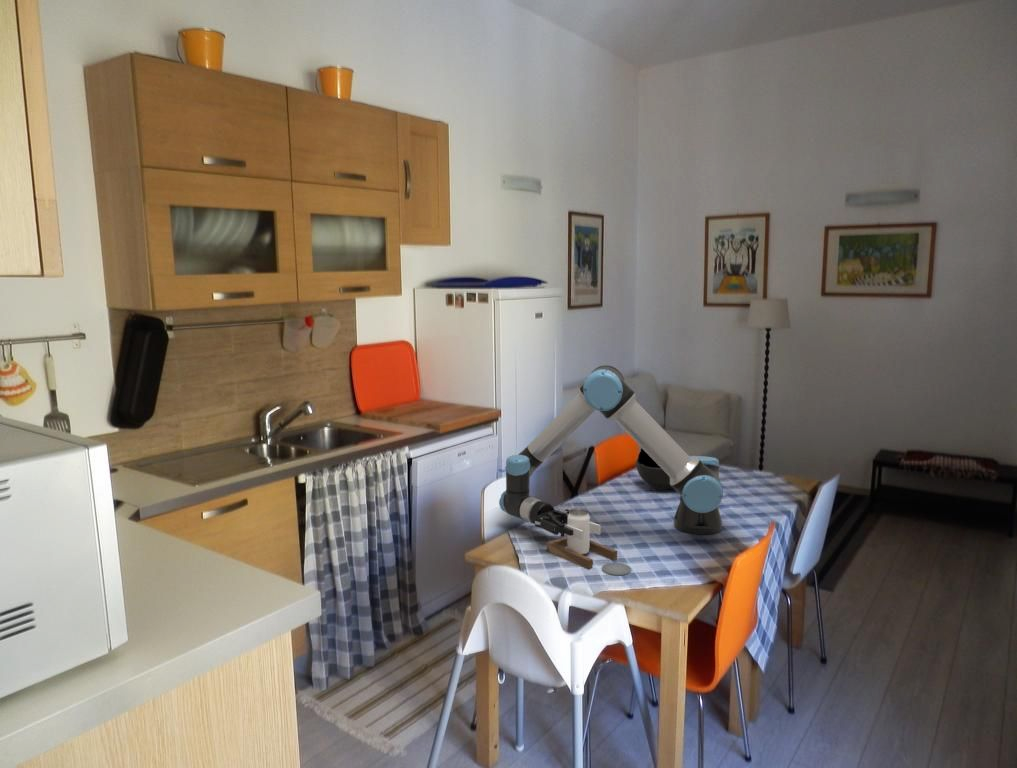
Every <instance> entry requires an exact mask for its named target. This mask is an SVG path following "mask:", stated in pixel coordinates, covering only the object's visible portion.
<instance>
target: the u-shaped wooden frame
mask: <svg viewBox="0 0 1017 768" xmlns="http://www.w3.org/2000/svg"><path fill="white" fill-rule="evenodd" d="M545 551H546V552H549V553H550V554H553V555H555V556H557V557H558V558H559V557H560V558H562V559H564V560H567V561H568V562H570V563H573V564H575V565H577V566H580V567H583V568H584V569H587V570H591V569H593V563H594V559H592V558H590V557H588V556H586V555H584V554H583V555H581V554H579V553H576V552H574V551H571V550H569V549H567V535H566V536H564V537H561V538H557V539H554V540H550V541H547V542H546V549H545ZM589 551H590V552H592V553H595V554H597V555H599V556H602V557H604V558H607V559H609V560H612V561H615V560H618V550H616V549H614V548H611V547H608V546H606V545H604V544H602V543H601V544H600V543H599V542H596V541H594V540H591V539H590V546H589Z"/></svg>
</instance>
